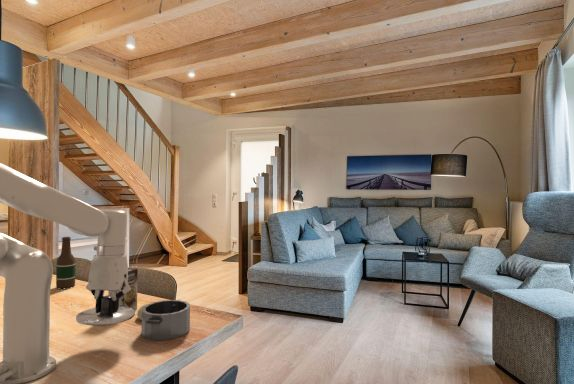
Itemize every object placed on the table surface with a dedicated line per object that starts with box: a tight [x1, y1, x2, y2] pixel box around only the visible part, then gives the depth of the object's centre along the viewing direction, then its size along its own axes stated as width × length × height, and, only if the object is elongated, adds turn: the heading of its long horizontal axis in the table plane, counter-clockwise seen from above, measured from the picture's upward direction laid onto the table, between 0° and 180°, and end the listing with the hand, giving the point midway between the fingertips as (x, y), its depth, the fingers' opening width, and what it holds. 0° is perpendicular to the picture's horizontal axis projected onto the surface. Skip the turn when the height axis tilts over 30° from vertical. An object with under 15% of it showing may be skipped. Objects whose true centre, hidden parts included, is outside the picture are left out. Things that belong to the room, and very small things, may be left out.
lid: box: [75, 295, 136, 327], centre depth 103 cm, size 16×16×7 cm
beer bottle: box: [55, 236, 76, 289], centre depth 164 cm, size 8×8×24 cm
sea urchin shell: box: [136, 303, 149, 321], centre depth 127 cm, size 9×8×8 cm
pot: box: [141, 299, 191, 342], centre depth 115 cm, size 19×15×8 cm
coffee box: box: [107, 267, 139, 311], centre depth 132 cm, size 9×6×16 cm
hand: (106, 311), depth 103 cm, fingers closed on lid, 3 cm apart
